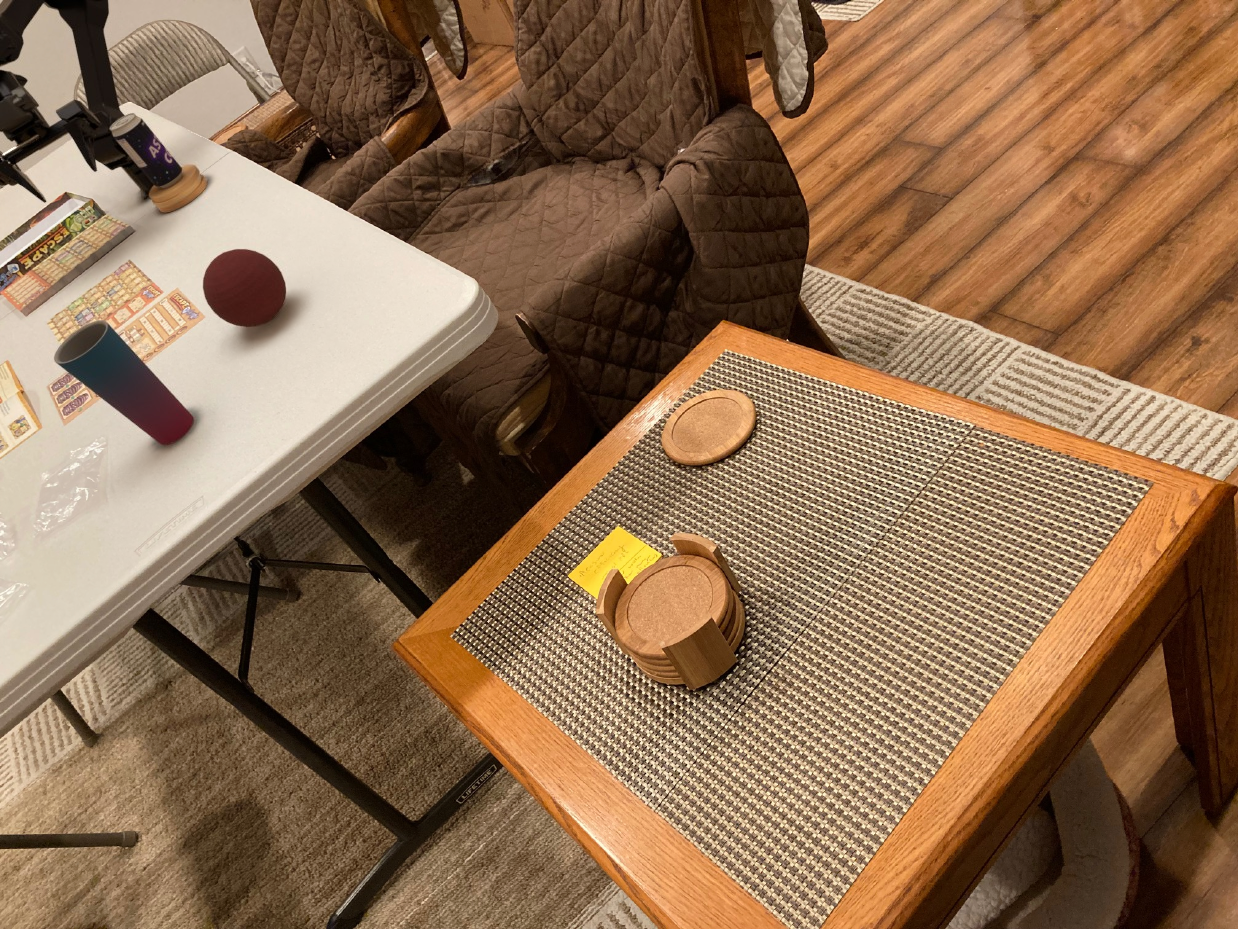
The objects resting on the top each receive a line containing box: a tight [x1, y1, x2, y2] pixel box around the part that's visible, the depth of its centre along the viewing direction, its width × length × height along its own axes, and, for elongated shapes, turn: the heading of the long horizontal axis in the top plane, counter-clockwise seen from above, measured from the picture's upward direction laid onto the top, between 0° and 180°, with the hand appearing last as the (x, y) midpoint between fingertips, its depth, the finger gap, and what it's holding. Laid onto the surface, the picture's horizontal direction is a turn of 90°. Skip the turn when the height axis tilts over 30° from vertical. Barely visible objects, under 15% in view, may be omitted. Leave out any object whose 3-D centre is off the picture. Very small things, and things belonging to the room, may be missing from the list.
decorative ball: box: [202, 248, 287, 328], centre depth 113 cm, size 10×10×10 cm
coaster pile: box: [149, 164, 208, 214], centre depth 157 cm, size 10×10×3 cm
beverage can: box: [110, 112, 182, 188], centre depth 152 cm, size 6×6×12 cm
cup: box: [53, 319, 195, 446], centre depth 101 cm, size 7×7×15 cm
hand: (69, 185), depth 139 cm, fingers open, 9 cm apart
